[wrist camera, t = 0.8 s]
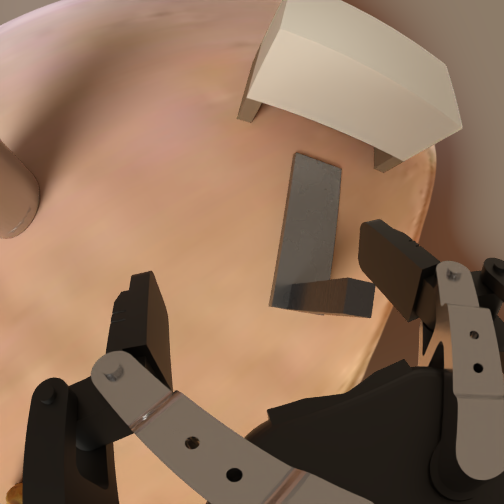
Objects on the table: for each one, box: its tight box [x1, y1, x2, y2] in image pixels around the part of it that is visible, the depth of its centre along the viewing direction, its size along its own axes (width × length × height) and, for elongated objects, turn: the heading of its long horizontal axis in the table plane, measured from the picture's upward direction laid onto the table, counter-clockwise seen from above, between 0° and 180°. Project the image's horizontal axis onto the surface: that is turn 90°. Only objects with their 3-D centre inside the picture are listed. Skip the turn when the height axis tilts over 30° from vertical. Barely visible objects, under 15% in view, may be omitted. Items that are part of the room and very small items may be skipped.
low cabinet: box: [237, 0, 463, 173], centre depth 34 cm, size 14×24×17 cm, turn 79°
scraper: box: [269, 153, 375, 318], centre depth 32 cm, size 20×7×13 cm, turn 169°
